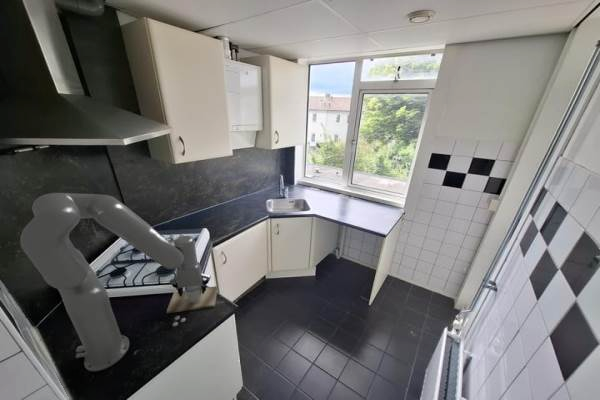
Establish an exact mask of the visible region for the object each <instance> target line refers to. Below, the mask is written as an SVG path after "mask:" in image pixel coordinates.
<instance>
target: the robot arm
mask: <svg viewBox="0 0 600 400" xmlns="http://www.w3.org/2000/svg"><path fill="white" fill-rule="evenodd" d="M31 210H32V213H33V215H34V217H33V218H32V219H31V220H30V221H29V222H28V223H27V224H26V225H25V227H24V228H23V230H22V232H21V235H20V238H19V239H20V240H19V241H20V246H21V248H22V250H23V252H24V253H25V255H26V256H27V257H28V259H29V260H30V261H31V262H32V265H34V267H35V268H36V269H37V270H38V272H39V273H40V275H41V276H42V277H43V280H44V281H45V282H46V283H47V284H48V285H49V286H51V287H52V288H54V289H57V290H58V293H59V294H60V297H61V298H62V299H61V300H62V303H63V304H64V307H65V310H66V312H67V315H68V316H69V317H68V318H69V319H70V321H71V323H72V325H73V326H74V327H73V328H75V332H76V333H77V335H78V337H79V339H80V341H81V345H79V346H77V348H76V349H75V352H76V354H75V358H76V359H79V358H84V360H83V364H84V367H85V369H86V370H87V371H89V372H99V371H103V370H106V369H107V368H110V367H112V366H113V365H114V364H116V363H118V362H119V361H120V360H121V359H122V358H123V357H124V356H125V355H126V353H127V352H128V351H129V348H130V340H129V338H128V337H127V336H125V335H122V334H121V331H120V328H119V326H118V325H119V324H118V323H117V320H116V317H115V314H114V312H113V308H112V305H111V301H110V297H109V294H108V291H107V289H106V288H105V286H104V285H103V283H102V281H101V280H100V278H99V277H98V275H97V274H96V273H95V271H94V270H93V268H92V266H90V263H89V262H88V261H87V260H86V258H85V257H84V255H83V253H82V252H81V251H80V250H79V249H77V248H75V246H74V244H73V242H72V241H71V240H70V237H69V236H70V233H71V232H72V230H73V229H75V227H76V226H77V225H78V224H79V223H80V221H81V220H83V219H94V221H96V222H97V224H99V225H100V226H102V227H103V228H104V229H107V230H108V231H110V232H111V233H113V234H114V235H116V236H118V237H119V238H120V239H122V240H123V241H125V242H126V243H127V244H129V245H131V246H132V247H133V248H134V249H136V250H138V251H139V252H141V253H143V254H144V255H146V256H147V257H149V258H150V259H151V260H153V261H154V262H156V263H157V264H159V265H160V266H161V267H163V268H165V269H167V270H175V269H176V271H175V272H176V273H175V274H176V276H175V277H173V278H171V279H170V280H169V281H168V283H169V284H170V285H171V286H172V287H173V288H175V289H176V290H175V291H178V294H179V295H180V297H181V296H182V294H183V290H184V288H185V287H192V286H199V285H201V288H202V294H204V291H206V287H207V286H206V285H207V284H208V283H209V281H210V280H211V275H209V274H205V273H203V271H202V267H201V265H200V262H199V261H198V257H197V250H196V244H195V243H196V242H195V238H194V237H193V236H191V235H183V236H180V237H178V238H175V239H172V240H166V238H165V237H163V236H162V235H161V234H160V233H159V232H158V231H157V230H156V229H155V228H154V227H152V226H151V225H150V224H149V223H148V222H147V221H145V220H144V219H142V217H140V216H139V215H138V214H136V213H135V212H134V211H133V210H131V209H130V207H128V206H127V205H125V204H124V203H123V202H121V201H119V199H117V198H116V197H114V196H112V195H108V194H99V193H98V194H97V193H96V194H95V193H76V192H75V193H74V192H73V193H72V192H51V193H50V192H49V193H47V194H43V195H41V196H38V198H36V199H35V200H34V201H33V203H32V207H31Z"/></svg>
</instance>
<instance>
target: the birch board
mask: <svg viewBox="0 0 600 400" xmlns="http://www.w3.org/2000/svg"><path fill="white" fill-rule="evenodd" d="M218 288H219V286H217V285H215V286H206V291H204V294H202V288H201V299H200V300H199V301H197V302H193V303H192V302H189V300H188V297H187V294H186V291H185V292H183V294H182V296H181V297H180V295H179V294H178V292H174V291H173V294H172V297H171V298H170V301H169V304H168V307H167V309H166V314H170V313H178V312H185V311H186V312H187V311H193V310H200V309H206V308H213V307H214V308H215V306H216V301H217V294H218ZM216 292H217V293H216Z"/></svg>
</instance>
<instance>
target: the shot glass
mask: <svg viewBox="0 0 600 400" xmlns="http://www.w3.org/2000/svg"><path fill="white" fill-rule="evenodd" d="M201 287H202V286H201V285H199V286H192V287H184V290H185V291H186V294H187V297H188V300H189V302H192V303H193V302H197V301H199V300H200V299H201Z"/></svg>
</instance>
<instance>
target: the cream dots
mask: <svg viewBox="0 0 600 400" xmlns="http://www.w3.org/2000/svg"><path fill="white" fill-rule="evenodd" d="M180 318H181V316H180V315H176V316H175V317H174V320H175V321H174V322H173V323H172V326H173V327H176V326H178V324H179V322H178V320H180V323H184V322H186V320H187V319H186V317H183V318H181V319H180Z"/></svg>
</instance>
